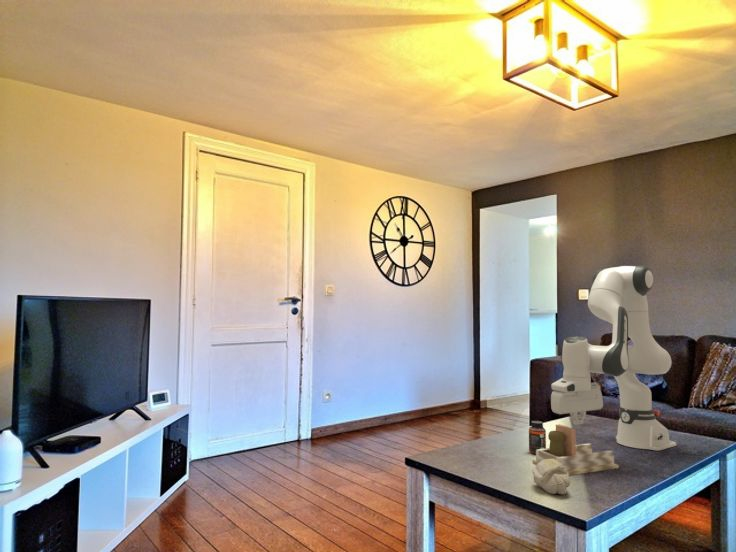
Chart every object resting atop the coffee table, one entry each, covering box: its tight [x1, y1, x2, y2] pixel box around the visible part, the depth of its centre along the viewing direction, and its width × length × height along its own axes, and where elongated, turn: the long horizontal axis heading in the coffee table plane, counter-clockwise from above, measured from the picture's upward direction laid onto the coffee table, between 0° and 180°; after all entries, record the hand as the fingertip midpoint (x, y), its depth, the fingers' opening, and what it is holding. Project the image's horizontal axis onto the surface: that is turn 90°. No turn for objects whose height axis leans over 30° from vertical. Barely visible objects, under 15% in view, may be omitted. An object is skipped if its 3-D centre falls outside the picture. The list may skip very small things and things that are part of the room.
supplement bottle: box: [528, 420, 547, 455], centre depth 177 cm, size 6×6×11 cm
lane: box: [532, 442, 619, 476], centre depth 163 cm, size 24×14×5 cm, turn 112°
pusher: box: [555, 423, 577, 456], centre depth 161 cm, size 2×7×12 cm, turn 21°
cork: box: [548, 430, 565, 457], centre depth 160 cm, size 6×6×11 cm
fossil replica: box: [532, 458, 571, 495], centre depth 140 cm, size 12×8×10 cm
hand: (578, 424), depth 164 cm, fingers closed
